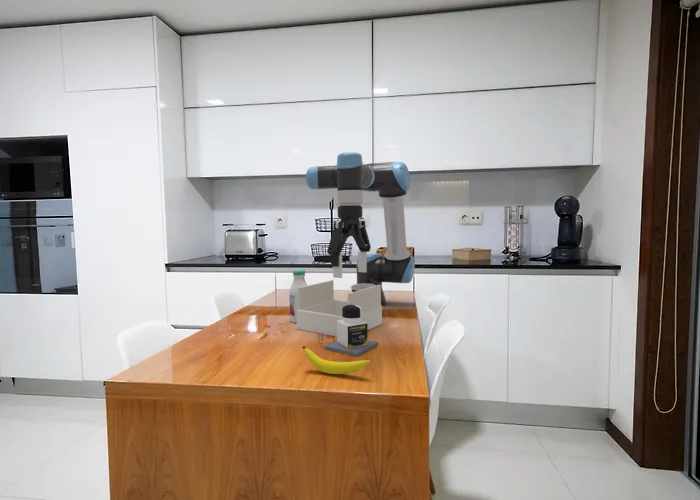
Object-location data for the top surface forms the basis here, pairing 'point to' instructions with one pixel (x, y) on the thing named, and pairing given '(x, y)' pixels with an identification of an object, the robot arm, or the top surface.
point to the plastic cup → (361, 287)
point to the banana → (334, 364)
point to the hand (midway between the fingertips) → (350, 274)
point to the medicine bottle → (352, 327)
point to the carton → (335, 307)
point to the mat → (350, 351)
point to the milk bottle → (296, 293)
